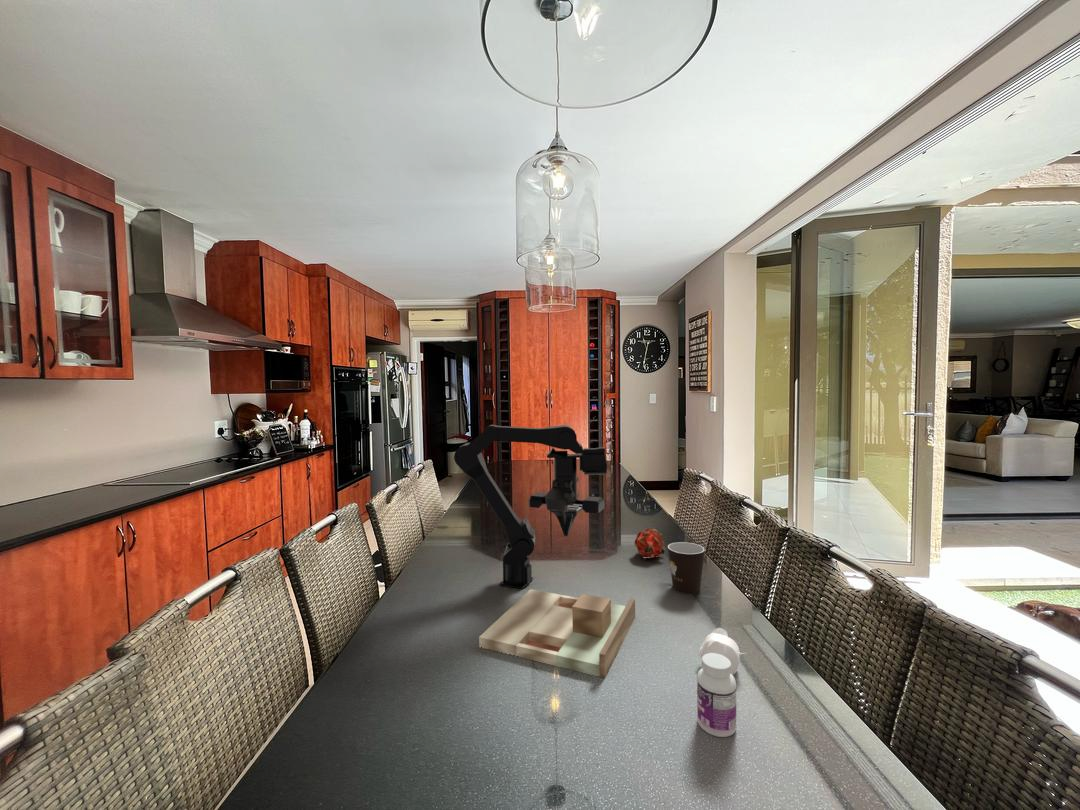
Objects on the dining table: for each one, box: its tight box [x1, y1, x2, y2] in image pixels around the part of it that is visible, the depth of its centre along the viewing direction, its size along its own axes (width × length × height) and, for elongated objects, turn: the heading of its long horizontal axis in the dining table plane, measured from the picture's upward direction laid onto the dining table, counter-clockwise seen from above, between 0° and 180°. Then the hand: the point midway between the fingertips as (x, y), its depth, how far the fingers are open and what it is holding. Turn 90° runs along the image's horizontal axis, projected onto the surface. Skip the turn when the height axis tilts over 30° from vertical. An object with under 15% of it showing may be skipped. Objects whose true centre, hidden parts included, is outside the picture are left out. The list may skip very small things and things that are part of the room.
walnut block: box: [572, 593, 612, 638], centre depth 92 cm, size 6×6×5 cm
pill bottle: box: [696, 653, 737, 738], centre depth 67 cm, size 5×5×10 cm
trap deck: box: [478, 589, 636, 679], centre depth 94 cm, size 25×23×4 cm
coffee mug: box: [667, 541, 705, 595], centre depth 115 cm, size 12×9×10 cm
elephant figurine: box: [698, 627, 748, 676], centre depth 81 cm, size 7×8×6 cm
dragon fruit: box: [633, 528, 666, 560], centre depth 136 cm, size 8×8×12 cm
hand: (566, 535), depth 118 cm, fingers closed
